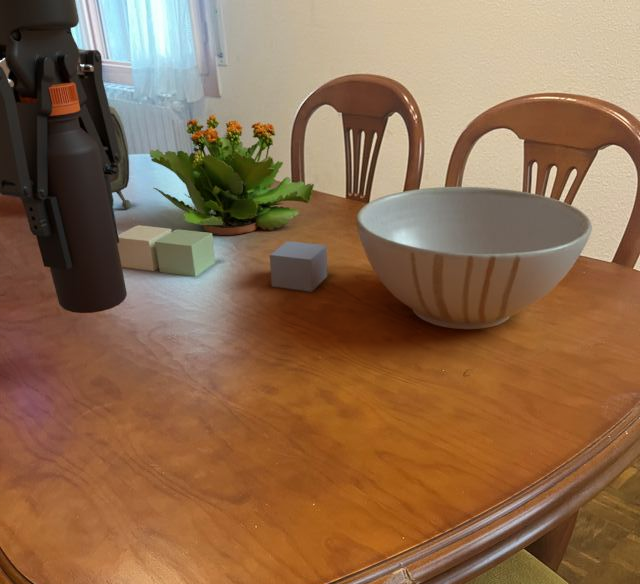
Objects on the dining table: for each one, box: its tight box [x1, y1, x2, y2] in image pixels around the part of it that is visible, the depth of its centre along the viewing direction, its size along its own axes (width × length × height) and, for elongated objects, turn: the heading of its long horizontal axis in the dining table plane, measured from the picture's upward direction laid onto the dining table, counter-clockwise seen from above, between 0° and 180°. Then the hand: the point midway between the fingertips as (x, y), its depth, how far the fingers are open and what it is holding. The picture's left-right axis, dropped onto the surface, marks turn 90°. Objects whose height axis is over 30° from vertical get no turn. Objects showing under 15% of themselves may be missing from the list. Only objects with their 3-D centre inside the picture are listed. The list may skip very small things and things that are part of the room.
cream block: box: [117, 224, 173, 272], centre depth 99 cm, size 6×6×5 cm
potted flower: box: [149, 114, 315, 236], centre depth 110 cm, size 25×24×18 cm
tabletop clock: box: [104, 105, 132, 210], centre depth 120 cm, size 14×9×25 cm, turn 104°
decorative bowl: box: [355, 186, 593, 330], centre depth 80 cm, size 27×27×12 cm
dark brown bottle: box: [18, 83, 128, 314], centre depth 62 cm, size 7×7×20 cm
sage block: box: [155, 228, 216, 277], centre depth 96 cm, size 6×6×5 cm
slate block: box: [269, 240, 328, 292], centre depth 91 cm, size 6×6×5 cm
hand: (83, 253), depth 65 cm, fingers closed on dark brown bottle, 7 cm apart
